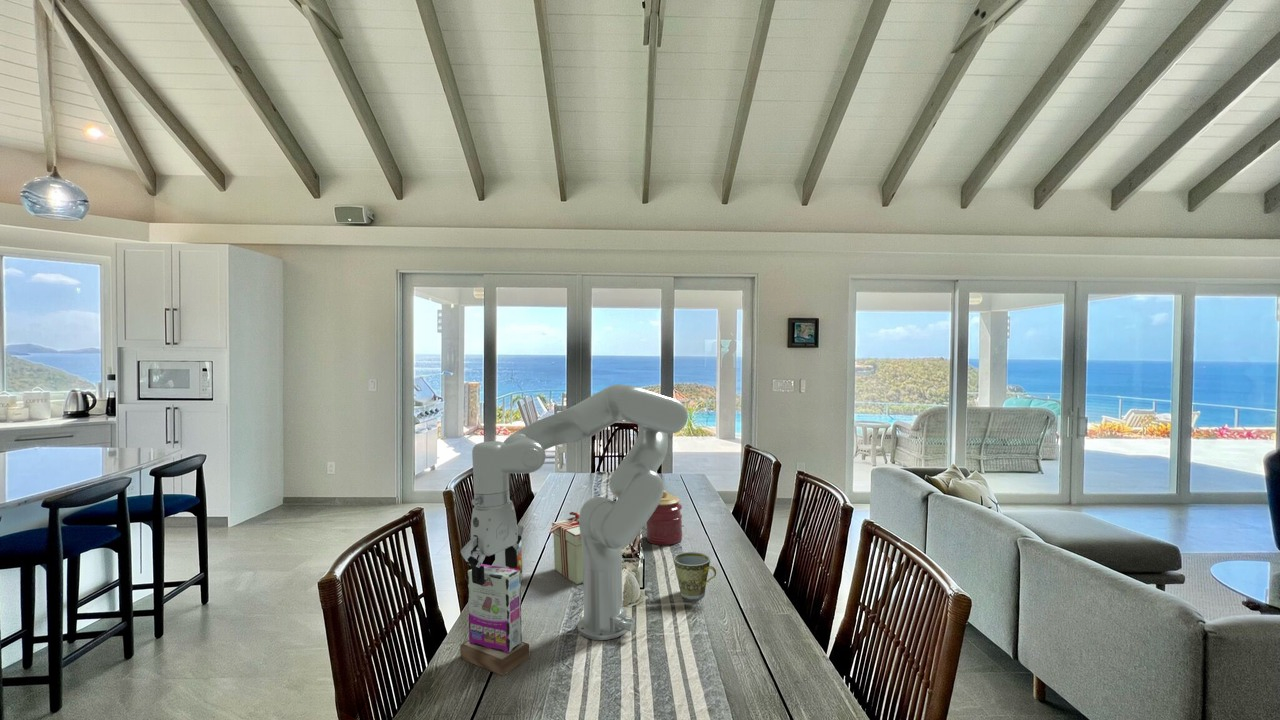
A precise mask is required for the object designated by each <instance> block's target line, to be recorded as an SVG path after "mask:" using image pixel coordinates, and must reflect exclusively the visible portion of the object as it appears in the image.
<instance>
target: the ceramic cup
mask: <svg viewBox="0 0 1280 720" xmlns="http://www.w3.org/2000/svg"><path fill="white" fill-rule="evenodd" d="M673 564H674V569H675V573H676V575H677V581H678V585H679V590H680V591H679V592H680V595H681V598H684V599H686V600H687V599H688V600H700V599H701V598H704V597H705V595H706V587H707V583H709V582H710V581H711V580H713V579H714V578H715V577H716V575H717V571H716V568H715V567H714V566H713V565H710V564H711V558H710V556H709V555H707V554H705V553H702V552H697V551H686V552H685V551H684V552H680V553H678V554H676V555H674V557H673ZM709 570H712V571H713V573H714V574H713V576H711V577H709V578H708V575H709Z"/></svg>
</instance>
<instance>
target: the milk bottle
mask: <svg viewBox="0 0 1280 720" xmlns="http://www.w3.org/2000/svg"><path fill="white" fill-rule="evenodd" d="M522 544H523V543H522V540H521V541H520V543H519V548H518V550H516V551H517V568H511V567H507V566H506V565H505V550H502V551H500V552H498V553H496V554H494V563H495V565H494V566H497V567H503V568H510V569H515V570H520V583H521V582H522V581H523V548H522V547H523V546H522Z"/></svg>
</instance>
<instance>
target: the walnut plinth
mask: <svg viewBox="0 0 1280 720" xmlns="http://www.w3.org/2000/svg"><path fill="white" fill-rule="evenodd" d="M459 650H460V659H461V660H463V661H466V662H468V663H471V664H473V665H476V666H477V667H480V668H483V669H485V670H487V671H490V672H492V673H494V674H498V675H500V676H502V677H504V675H506V674H507V673H509V672H511V671H512V670H513V669H515V668H516V667H518V666H519V665H521V664H522V663H524V662H525V661H527V660H528V659H529V658H530V644H529V643H527V642H524V641H522V643H521V644H520V645H519V646H518V647H516V648H515V649H514V650H512V651H511V652H510V653H506V652H502V651H498V650H494V649H489V648H485V647H481V646H477V645H473V644H470V643H469V639H468V640H467V641H465V642H463V643H462V644H460V647H459Z"/></svg>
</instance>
